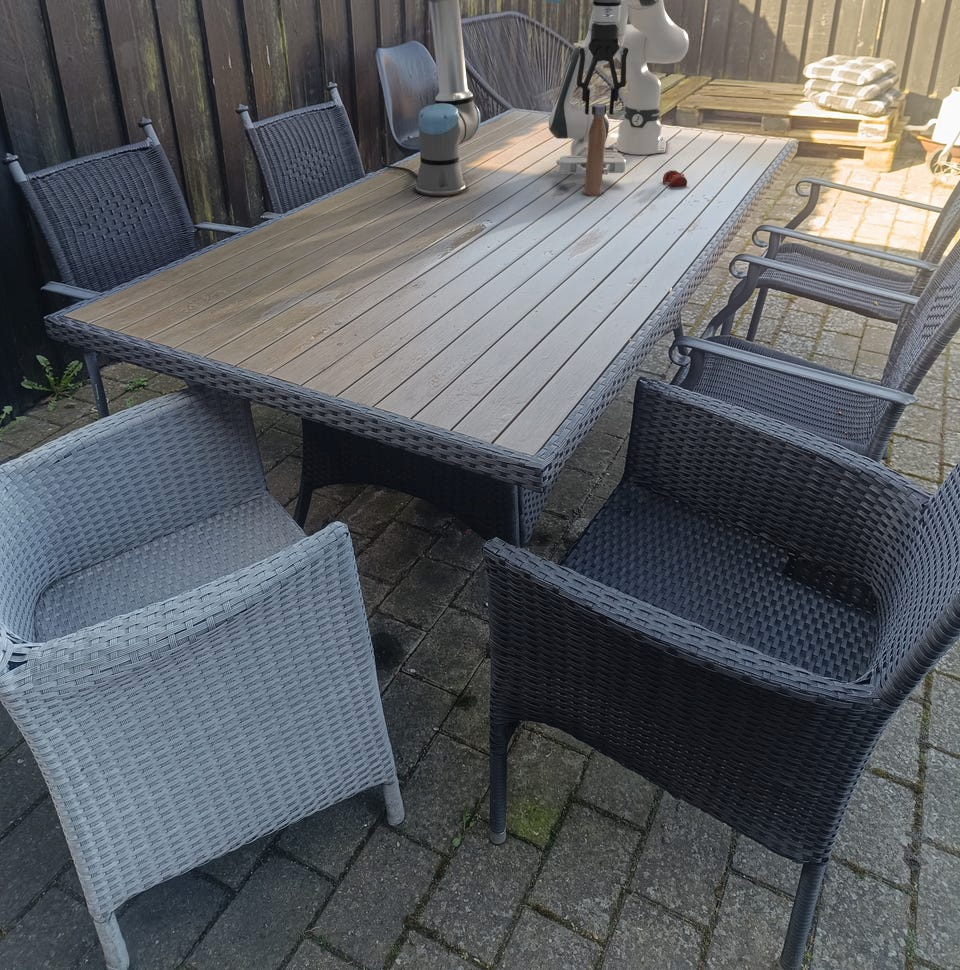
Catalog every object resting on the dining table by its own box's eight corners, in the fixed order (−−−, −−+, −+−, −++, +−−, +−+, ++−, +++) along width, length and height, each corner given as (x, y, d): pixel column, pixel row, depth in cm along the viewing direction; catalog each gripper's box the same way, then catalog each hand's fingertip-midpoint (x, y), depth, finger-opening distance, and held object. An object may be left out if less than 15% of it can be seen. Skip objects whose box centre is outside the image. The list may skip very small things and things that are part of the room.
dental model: (678, 166, 263) (689, 173, 257) (677, 180, 266) (688, 187, 260) (661, 168, 262) (672, 175, 256) (660, 182, 265) (671, 189, 259)
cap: (591, 115, 241) (592, 106, 240) (591, 112, 244) (592, 103, 243) (605, 116, 241) (606, 107, 239) (605, 112, 244) (606, 104, 243)
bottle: (588, 196, 253) (595, 110, 239) (581, 191, 257) (587, 107, 243) (604, 194, 254) (611, 109, 240) (596, 190, 258) (603, 105, 244)
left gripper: (571, 24, 226) (566, 116, 239) (643, 24, 226) (634, 116, 239) (569, 21, 232) (564, 110, 246) (639, 20, 232) (630, 110, 245)
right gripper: (555, 149, 260) (560, 161, 249) (621, 148, 261) (629, 160, 250) (554, 170, 264) (559, 183, 253) (619, 169, 264) (627, 182, 253)
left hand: (598, 113), depth 242 cm, fingers open, 6 cm apart
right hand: (594, 171), depth 251 cm, fingers closed on bottle, 5 cm apart
